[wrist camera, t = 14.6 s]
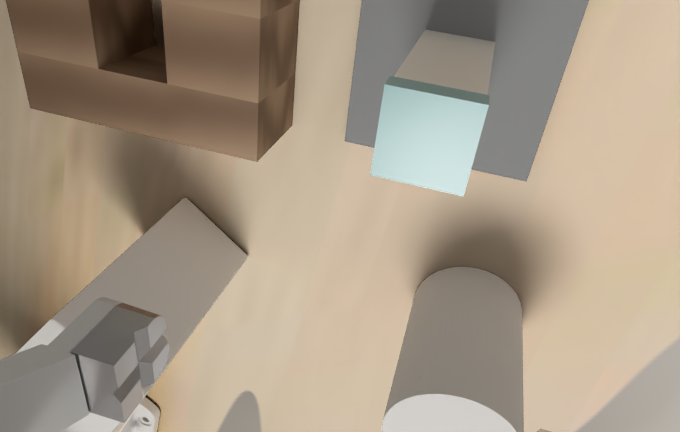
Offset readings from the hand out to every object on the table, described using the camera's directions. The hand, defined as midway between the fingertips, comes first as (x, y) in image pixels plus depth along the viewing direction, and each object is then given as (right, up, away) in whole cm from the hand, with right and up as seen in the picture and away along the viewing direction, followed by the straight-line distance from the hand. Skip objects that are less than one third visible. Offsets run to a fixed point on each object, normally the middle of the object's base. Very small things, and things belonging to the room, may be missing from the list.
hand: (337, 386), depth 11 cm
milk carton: (-12, +1, +34) cm, 36 cm away
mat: (+7, +13, +20) cm, 25 cm away
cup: (+10, -4, +29) cm, 31 cm away
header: (-10, +17, +24) cm, 31 cm away
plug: (+7, +12, +20) cm, 24 cm away
